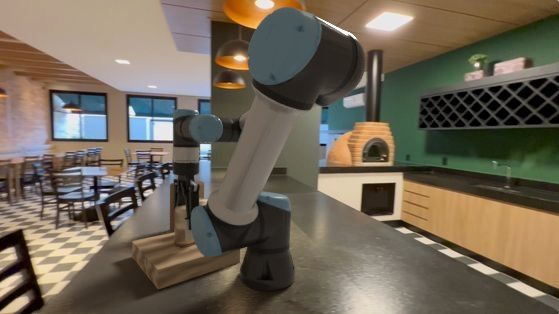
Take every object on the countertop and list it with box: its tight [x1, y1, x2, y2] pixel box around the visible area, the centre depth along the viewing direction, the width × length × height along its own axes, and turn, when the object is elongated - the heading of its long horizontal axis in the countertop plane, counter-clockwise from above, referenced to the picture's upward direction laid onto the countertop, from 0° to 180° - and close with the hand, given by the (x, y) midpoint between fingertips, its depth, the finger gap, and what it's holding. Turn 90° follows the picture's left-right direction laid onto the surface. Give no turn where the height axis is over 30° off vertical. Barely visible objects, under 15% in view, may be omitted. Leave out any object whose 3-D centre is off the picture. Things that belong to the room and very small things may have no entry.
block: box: [169, 180, 205, 233], centre depth 108 cm, size 10×10×20 cm
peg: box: [174, 205, 195, 248], centre depth 83 cm, size 6×6×16 cm
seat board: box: [131, 198, 241, 290], centre depth 83 cm, size 24×24×16 cm
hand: (185, 236), depth 83 cm, fingers closed on peg, 6 cm apart
